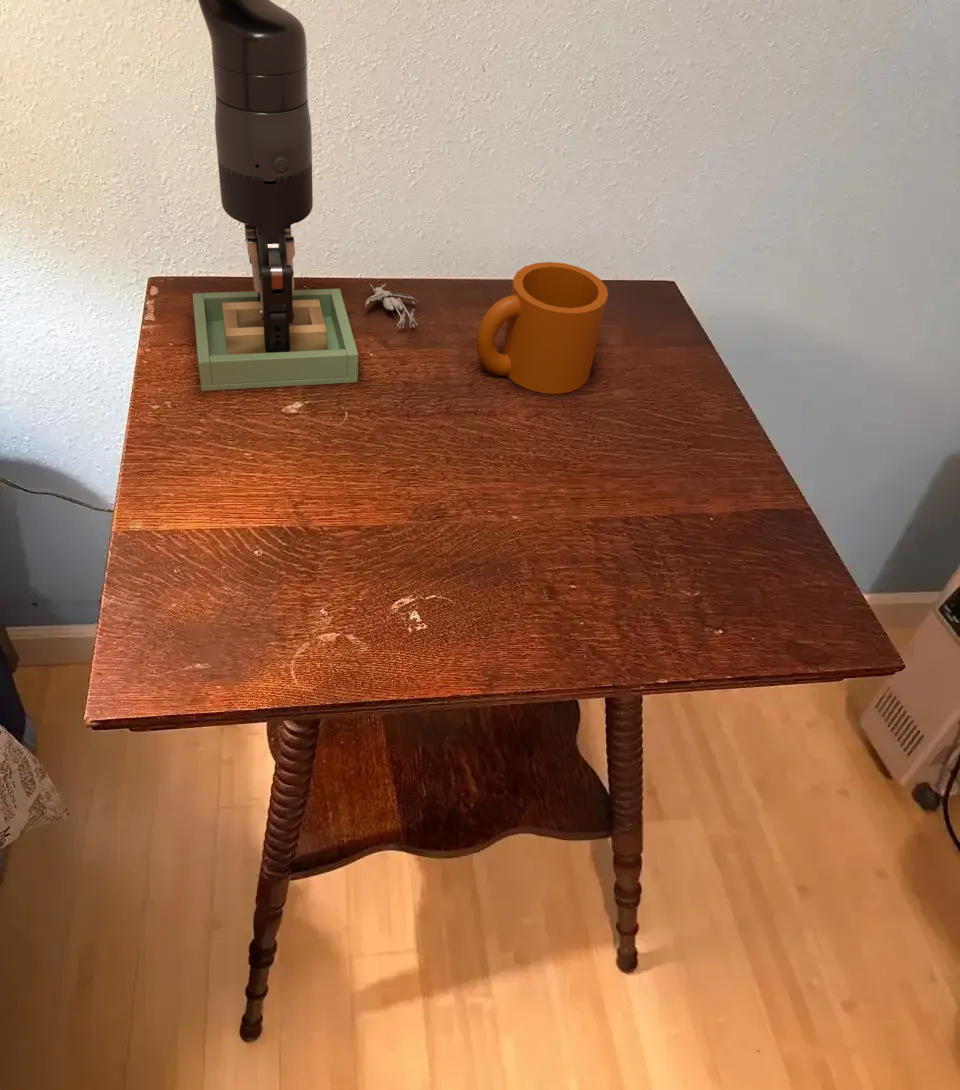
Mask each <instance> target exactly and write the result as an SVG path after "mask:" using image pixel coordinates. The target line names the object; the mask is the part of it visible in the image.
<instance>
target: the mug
mask: <svg viewBox="0 0 960 1090" xmlns="http://www.w3.org/2000/svg"><path fill="white" fill-rule="evenodd" d="M608 297H609V292H608V288H607V286H606V285H605V283H604V282H603V281H602V280H601V278H599V277H598V276H596V275H595V274H594V273H592V272H591V271H589V270H586V269H584V268H582V267H579V266H576V265H572V264H568V263H564V262H555V261H554V262H553V261H546V262H535V263H532V264H528V265H525V266H523V267H521V268H520V269H519V270H518V271H516V273H515V275H514V277H513V278H512V283H511V291H510V295H508V296H505V297H503V298H501V299H499V300H498V301H496V302H495V303H493V305H492V306H491V307H490V308H489V309H488V310H487V311H486V313H485V314H484V316H483V317H482V319H481V322H480V324H479V327H478V328H477V333H476V339H475V341H476V351H477V355H478V357H479V361H480V362H481V364H482V365H483V368H485V369H486V370H487V371H489V372H490V373H492V374H494V375H496V376H501V377H502V376H503V377H505V376H506V377H507V378H509V379H510V380H511V381H512V382H513V383H514V384H516V385H518V386H520V387H522V388H524V389H525V390H529V391H532V392H536V393H541V394H551V395H558V394H559V395H560V394H566V393H567V394H568V393H571V392H574V391H576V390H579V389H580V388H582V387H583V386H584V385H585V384H586V383H588V380H589V378H590V377H589V376H590V374H591V369H592V366H593V362H594V357H595V353H596V348H597V344H598V340H599V335H600V331H601V327H602V323H603V318H604V315H605V310H606V306H607V301H608ZM504 324H505V330H504V337H503V343H502V350H501V353H500V352H499V351H498V350H497V348H496V344H495V341H496V336H497V333H498V331H499V330H500V328H501V327H502V326H503V325H504Z"/></svg>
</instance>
